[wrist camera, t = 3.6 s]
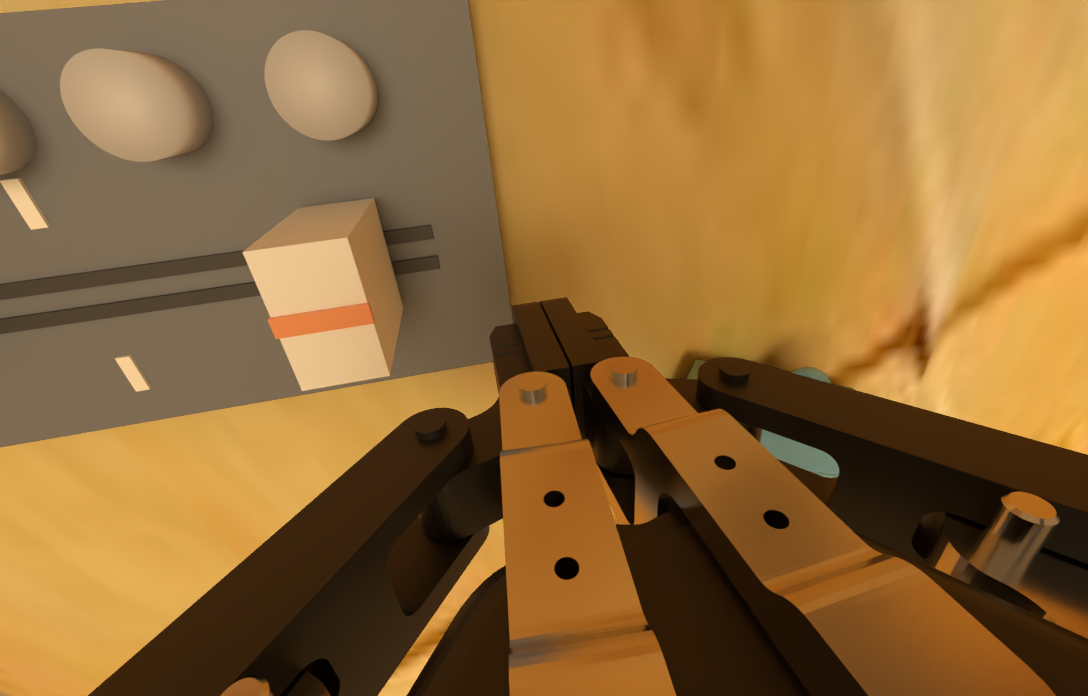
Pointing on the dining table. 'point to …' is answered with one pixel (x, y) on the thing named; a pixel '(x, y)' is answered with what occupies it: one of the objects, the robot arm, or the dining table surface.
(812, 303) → the dining table surface
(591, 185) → the dining table surface
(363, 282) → the block
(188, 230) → the console
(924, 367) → the dining table surface
